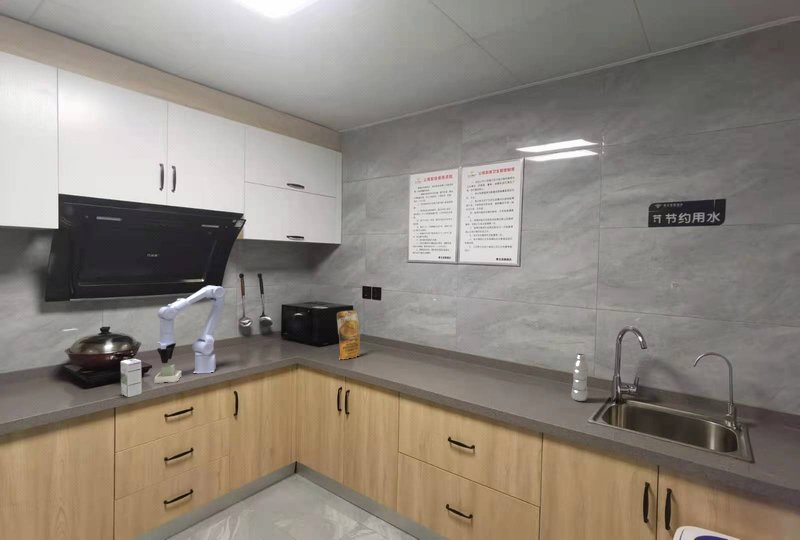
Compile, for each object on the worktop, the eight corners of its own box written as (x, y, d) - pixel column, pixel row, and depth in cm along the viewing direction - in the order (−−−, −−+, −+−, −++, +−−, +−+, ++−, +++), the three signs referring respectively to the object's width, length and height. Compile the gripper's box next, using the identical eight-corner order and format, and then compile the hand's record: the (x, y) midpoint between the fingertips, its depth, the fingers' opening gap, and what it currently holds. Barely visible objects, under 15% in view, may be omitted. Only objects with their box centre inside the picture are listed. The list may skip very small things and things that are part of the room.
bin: (181, 376, 197) (181, 370, 197) (177, 382, 188) (177, 376, 188) (160, 378, 194) (160, 371, 194) (154, 383, 185) (154, 377, 185)
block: (174, 376, 194) (174, 364, 194) (172, 379, 190) (172, 366, 189) (164, 377, 193) (164, 364, 192) (161, 380, 188) (161, 367, 188)
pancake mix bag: (332, 359, 236) (333, 311, 235) (356, 353, 250) (357, 308, 249) (339, 361, 231) (340, 312, 231) (363, 355, 246) (364, 310, 245)
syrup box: (142, 393, 172) (142, 359, 172) (127, 397, 167) (127, 362, 167) (135, 391, 175) (135, 358, 174) (120, 395, 170) (120, 360, 169)
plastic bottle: (568, 400, 175) (570, 354, 175) (574, 396, 180) (576, 351, 179) (583, 404, 171) (585, 357, 170) (589, 400, 175) (591, 354, 175)
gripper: (161, 330, 197) (161, 357, 197) (153, 335, 183) (153, 365, 183) (177, 329, 199) (177, 356, 199) (170, 335, 185) (170, 364, 185)
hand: (166, 361), depth 191 cm, fingers open, 7 cm apart
